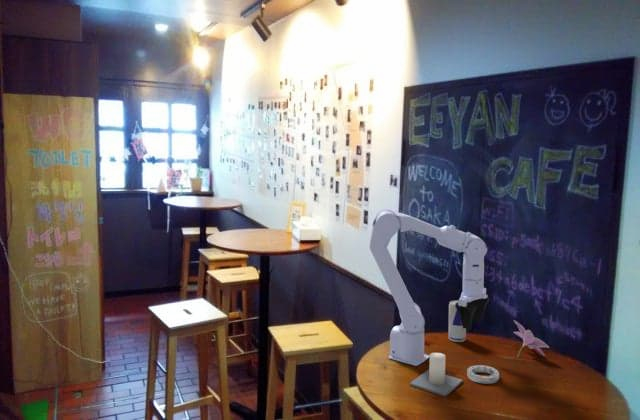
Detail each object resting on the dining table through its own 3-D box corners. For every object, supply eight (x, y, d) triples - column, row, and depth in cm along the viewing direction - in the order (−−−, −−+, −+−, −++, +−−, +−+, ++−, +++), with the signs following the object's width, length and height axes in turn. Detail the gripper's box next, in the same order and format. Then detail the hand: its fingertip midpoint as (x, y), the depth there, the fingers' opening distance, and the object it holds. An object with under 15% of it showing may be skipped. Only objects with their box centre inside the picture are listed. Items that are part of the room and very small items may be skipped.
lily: (549, 369, 146) (560, 337, 147) (508, 352, 147) (520, 320, 148) (533, 365, 157) (544, 335, 159) (496, 349, 159) (507, 319, 160)
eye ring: (462, 378, 139) (462, 372, 139) (474, 368, 145) (474, 362, 145) (491, 386, 134) (491, 380, 134) (503, 375, 140) (503, 370, 140)
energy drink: (466, 343, 163) (467, 305, 162) (448, 342, 164) (449, 305, 163) (465, 336, 168) (465, 300, 167) (448, 335, 169) (448, 299, 168)
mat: (409, 385, 135) (409, 383, 135) (428, 371, 143) (428, 369, 143) (445, 396, 129) (445, 394, 129) (462, 381, 137) (462, 379, 137)
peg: (426, 382, 135) (427, 356, 135) (432, 376, 139) (433, 351, 138) (441, 386, 133) (441, 359, 132) (447, 380, 136) (447, 354, 136)
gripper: (476, 286, 140) (475, 335, 141) (496, 275, 151) (495, 320, 153) (451, 282, 144) (451, 329, 146) (473, 271, 155) (472, 315, 157)
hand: (472, 324), depth 149 cm, fingers open, 7 cm apart
